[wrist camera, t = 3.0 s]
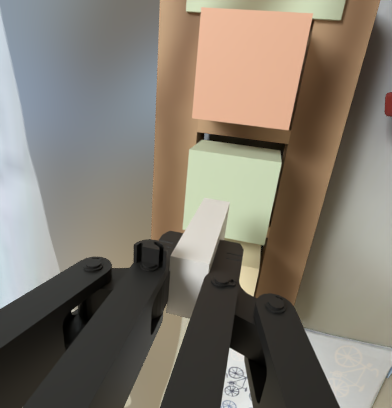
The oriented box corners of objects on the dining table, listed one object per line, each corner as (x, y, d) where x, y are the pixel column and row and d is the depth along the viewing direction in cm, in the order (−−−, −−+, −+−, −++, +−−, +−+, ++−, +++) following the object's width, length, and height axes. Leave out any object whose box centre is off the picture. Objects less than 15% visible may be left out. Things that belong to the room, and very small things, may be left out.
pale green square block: (280, 150, 22) (281, 162, 18) (265, 222, 24) (264, 245, 21) (202, 139, 23) (189, 149, 19) (195, 209, 25) (182, 229, 22)
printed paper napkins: (208, 300, 33) (204, 313, 31) (404, 345, 30) (413, 363, 28) (194, 409, 41) (190, 425, 39) (350, 456, 37) (354, 477, 35)
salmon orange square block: (305, 27, 19) (313, 13, 15) (285, 122, 21) (288, 130, 18) (213, 21, 20) (201, 7, 16) (204, 113, 22) (191, 118, 19)
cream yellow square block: (261, 242, 25) (259, 269, 22) (249, 298, 27) (246, 330, 24) (193, 229, 26) (180, 252, 23) (187, 284, 29) (175, 312, 25)
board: (367, 6, 20) (383, -8, 17) (287, 302, 30) (289, 326, 27) (173, -4, 23) (159, -17, 20) (159, 273, 33) (147, 292, 30)
